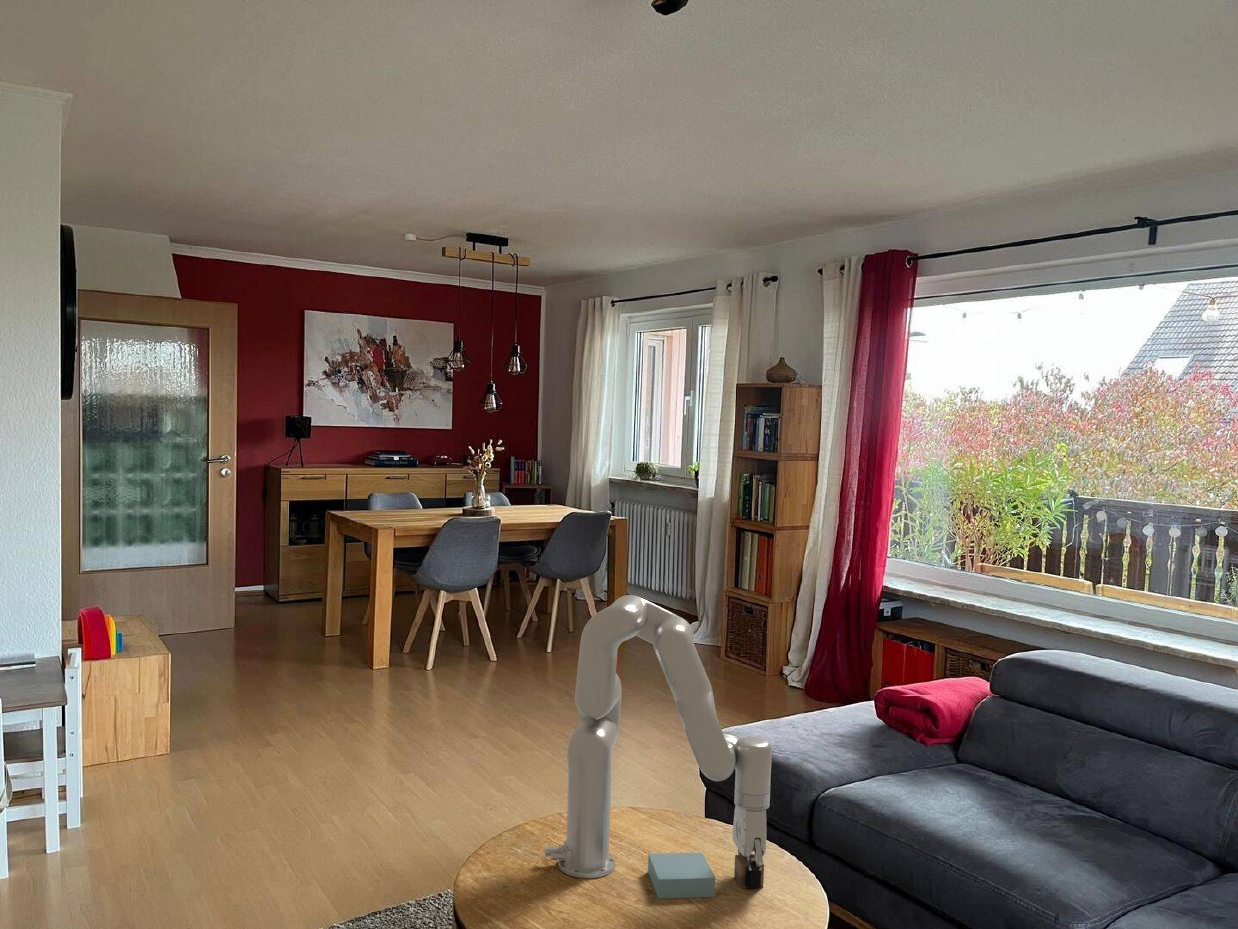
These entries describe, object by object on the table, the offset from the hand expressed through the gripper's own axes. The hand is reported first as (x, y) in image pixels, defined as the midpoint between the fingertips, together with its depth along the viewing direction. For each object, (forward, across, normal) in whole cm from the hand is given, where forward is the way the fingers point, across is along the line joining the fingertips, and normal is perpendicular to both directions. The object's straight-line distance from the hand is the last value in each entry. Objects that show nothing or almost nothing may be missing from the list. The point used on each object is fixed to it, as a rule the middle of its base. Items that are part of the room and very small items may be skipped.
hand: (748, 879), depth 202 cm
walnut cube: (+1, 0, 0) cm, 1 cm away
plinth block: (+1, 0, -15) cm, 15 cm away
